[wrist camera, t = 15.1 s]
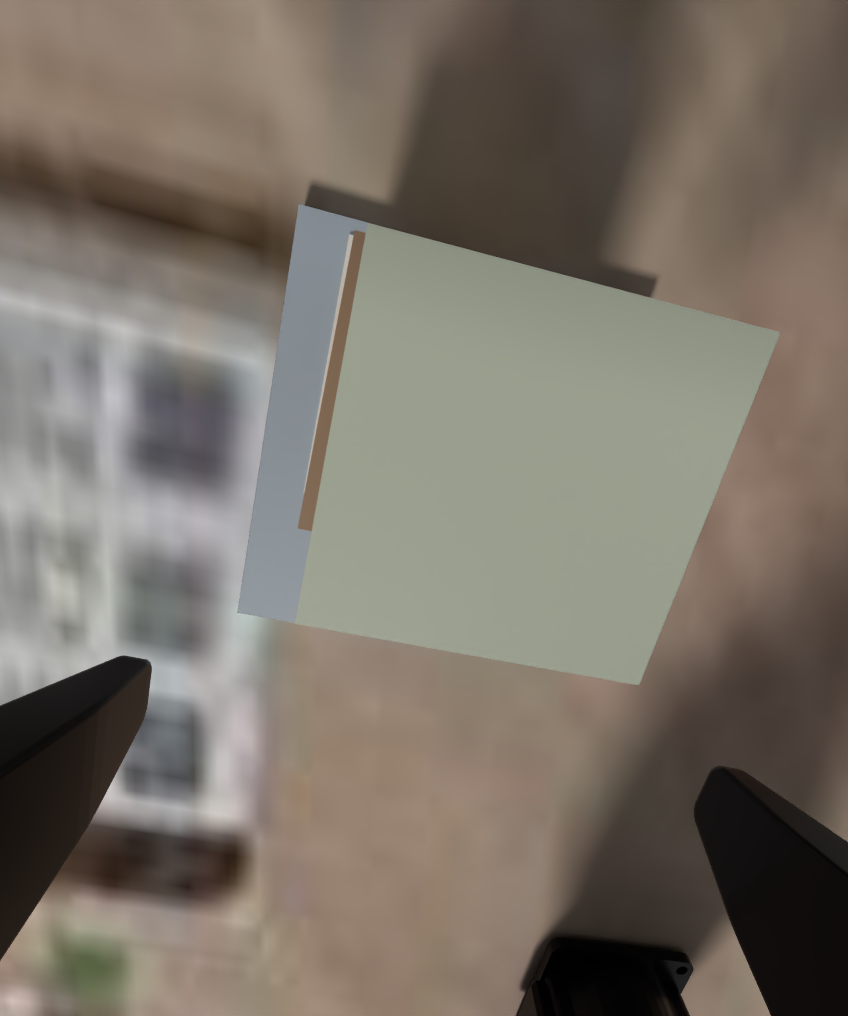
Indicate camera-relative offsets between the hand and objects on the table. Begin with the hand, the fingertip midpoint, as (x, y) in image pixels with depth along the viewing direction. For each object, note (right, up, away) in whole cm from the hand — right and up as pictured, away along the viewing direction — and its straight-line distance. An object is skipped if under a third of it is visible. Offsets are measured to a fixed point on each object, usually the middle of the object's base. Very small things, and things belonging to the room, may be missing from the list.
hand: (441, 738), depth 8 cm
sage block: (+1, +5, +3) cm, 6 cm away
